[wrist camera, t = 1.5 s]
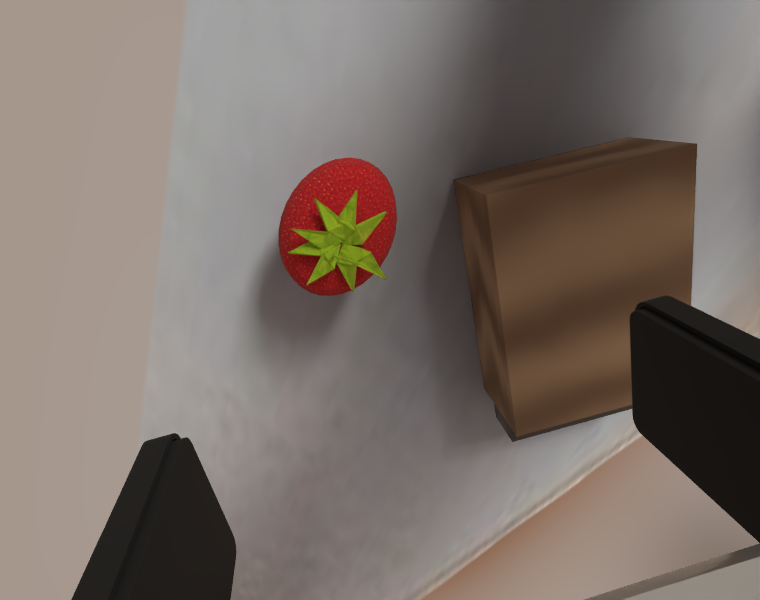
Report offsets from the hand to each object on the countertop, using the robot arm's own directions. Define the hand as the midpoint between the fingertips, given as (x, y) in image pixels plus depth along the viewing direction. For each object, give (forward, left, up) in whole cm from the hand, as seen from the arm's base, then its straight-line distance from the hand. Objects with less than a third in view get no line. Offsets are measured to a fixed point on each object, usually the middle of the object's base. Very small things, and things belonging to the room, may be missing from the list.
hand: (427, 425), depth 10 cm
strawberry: (0, 0, -23) cm, 23 cm away
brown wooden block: (+8, +14, -23) cm, 28 cm away
